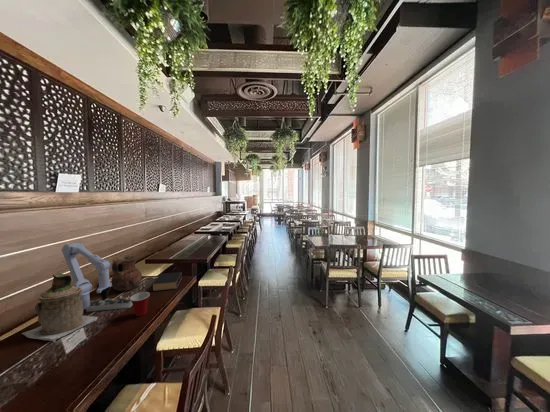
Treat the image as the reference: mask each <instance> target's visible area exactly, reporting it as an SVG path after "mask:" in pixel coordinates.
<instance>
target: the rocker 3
mask: <svg viewBox="0 0 550 412" xmlns="http://www.w3.org/2000/svg"><path fill="white" fill-rule="evenodd" d="M129 298H130V297H127V296H122V295H121V296H120V297H119V298H118V299H119V301H122V300H123V301H128V300H129Z"/></svg>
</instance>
